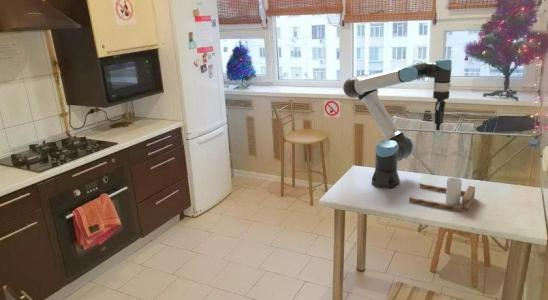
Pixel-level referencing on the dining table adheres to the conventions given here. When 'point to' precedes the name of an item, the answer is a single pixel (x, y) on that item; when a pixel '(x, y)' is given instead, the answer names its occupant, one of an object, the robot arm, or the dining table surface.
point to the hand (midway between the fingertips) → (437, 135)
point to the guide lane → (436, 204)
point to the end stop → (468, 198)
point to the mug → (453, 190)
